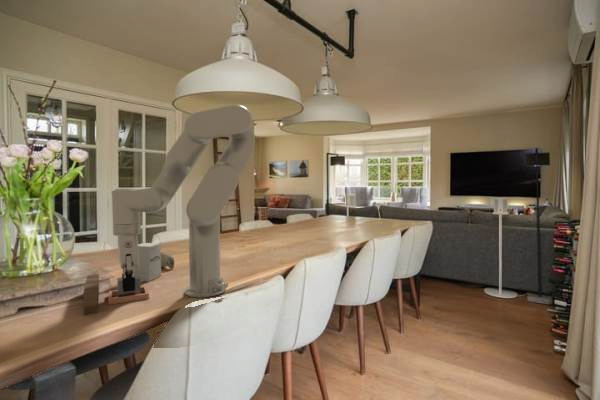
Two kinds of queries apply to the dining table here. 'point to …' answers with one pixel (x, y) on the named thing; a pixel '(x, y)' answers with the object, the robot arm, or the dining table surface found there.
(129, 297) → the key collar
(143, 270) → the supplement box
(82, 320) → the dining table surface
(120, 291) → the bar
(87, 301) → the board
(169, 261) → the decorative bird
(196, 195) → the robot arm
